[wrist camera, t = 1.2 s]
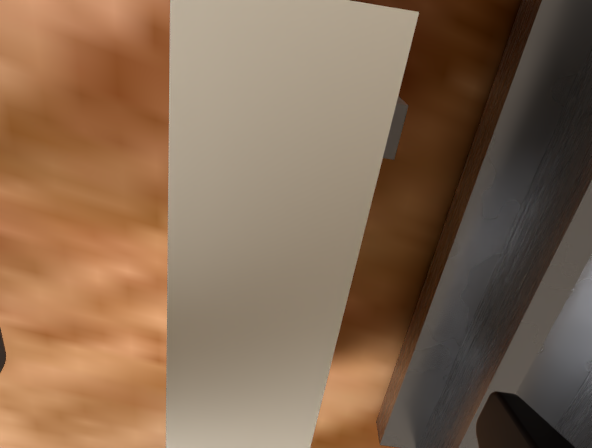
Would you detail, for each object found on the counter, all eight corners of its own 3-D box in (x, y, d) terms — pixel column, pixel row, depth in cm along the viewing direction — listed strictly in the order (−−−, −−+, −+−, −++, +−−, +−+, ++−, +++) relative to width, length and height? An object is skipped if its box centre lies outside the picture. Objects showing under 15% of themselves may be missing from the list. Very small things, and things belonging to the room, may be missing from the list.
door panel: (301, 370, 16) (292, 606, 9) (225, 359, 16) (164, 591, 9) (375, 17, 10) (469, 21, 4) (258, -2, 10) (171, -31, 4)
